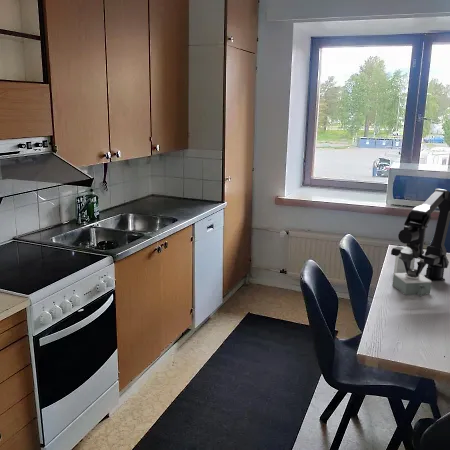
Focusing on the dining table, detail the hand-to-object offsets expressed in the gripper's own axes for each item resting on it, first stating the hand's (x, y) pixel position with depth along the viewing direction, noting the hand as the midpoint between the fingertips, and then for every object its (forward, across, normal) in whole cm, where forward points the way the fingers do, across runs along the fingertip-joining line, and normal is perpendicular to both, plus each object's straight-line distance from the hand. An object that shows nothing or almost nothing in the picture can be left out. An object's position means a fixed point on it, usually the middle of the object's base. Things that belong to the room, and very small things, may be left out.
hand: (412, 274), depth 198 cm
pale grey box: (+6, +1, -1) cm, 7 cm away
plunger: (+6, 0, 0) cm, 6 cm away
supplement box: (+7, -12, +14) cm, 20 cm away
